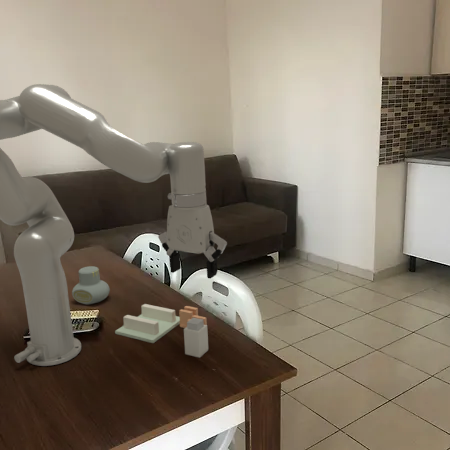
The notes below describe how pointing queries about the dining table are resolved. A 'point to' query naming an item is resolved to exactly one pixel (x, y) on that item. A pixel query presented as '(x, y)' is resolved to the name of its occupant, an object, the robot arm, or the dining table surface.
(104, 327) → the dining table surface
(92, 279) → the air freshener
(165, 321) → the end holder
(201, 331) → the block
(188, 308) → the clips
